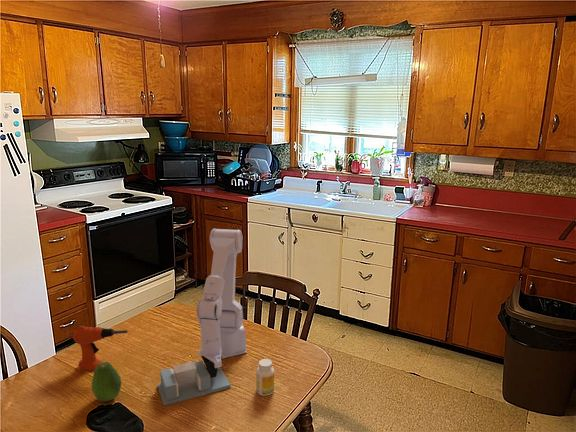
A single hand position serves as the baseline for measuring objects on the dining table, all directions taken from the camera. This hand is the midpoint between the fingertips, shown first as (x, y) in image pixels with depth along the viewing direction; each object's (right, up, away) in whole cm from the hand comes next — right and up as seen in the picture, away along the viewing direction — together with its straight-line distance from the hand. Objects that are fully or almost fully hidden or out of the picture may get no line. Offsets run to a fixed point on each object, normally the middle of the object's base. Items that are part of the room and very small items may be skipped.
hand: (212, 376), depth 135 cm
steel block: (-7, -2, -3) cm, 8 cm away
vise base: (-5, -3, -2) cm, 6 cm away
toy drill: (-37, 0, +8) cm, 38 cm away
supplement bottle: (+17, -3, -3) cm, 17 cm away
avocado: (-29, -4, -8) cm, 30 cm away
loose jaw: (-3, -1, -1) cm, 4 cm away
